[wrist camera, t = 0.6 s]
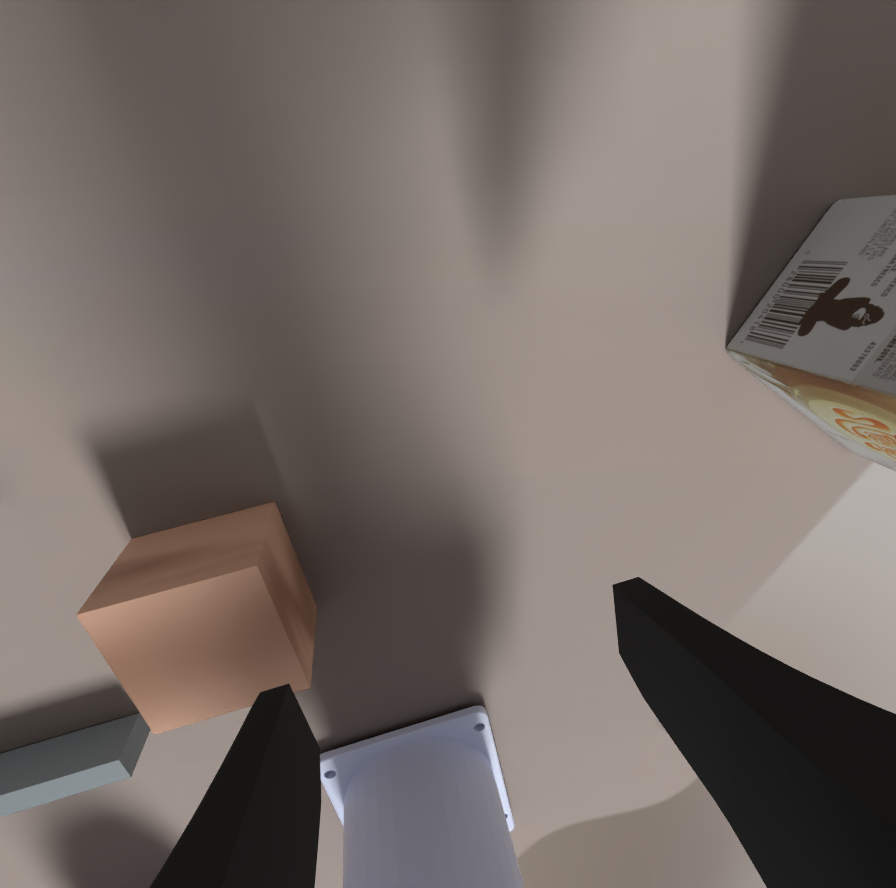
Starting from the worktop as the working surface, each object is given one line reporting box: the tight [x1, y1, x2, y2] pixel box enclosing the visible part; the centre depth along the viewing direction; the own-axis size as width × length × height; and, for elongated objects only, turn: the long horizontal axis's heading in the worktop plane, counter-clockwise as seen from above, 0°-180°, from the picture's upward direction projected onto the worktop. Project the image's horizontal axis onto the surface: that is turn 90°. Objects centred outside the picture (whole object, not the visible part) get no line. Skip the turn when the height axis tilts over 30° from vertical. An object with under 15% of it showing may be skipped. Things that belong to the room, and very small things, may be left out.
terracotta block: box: [76, 502, 317, 735], centre depth 17 cm, size 5×5×4 cm
